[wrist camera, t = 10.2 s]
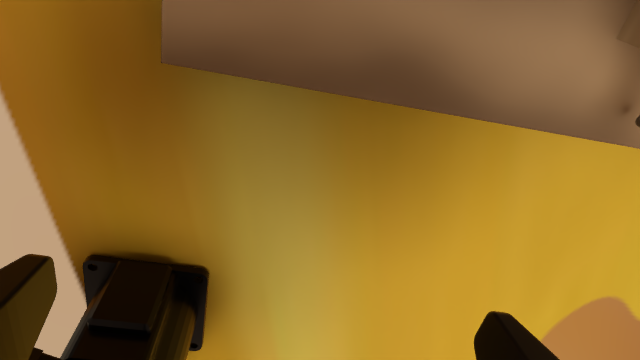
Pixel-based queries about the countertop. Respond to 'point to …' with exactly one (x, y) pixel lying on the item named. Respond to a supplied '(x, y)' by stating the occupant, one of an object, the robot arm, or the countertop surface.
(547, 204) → the countertop surface
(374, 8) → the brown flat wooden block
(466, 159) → the countertop surface
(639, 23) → the block
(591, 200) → the countertop surface
